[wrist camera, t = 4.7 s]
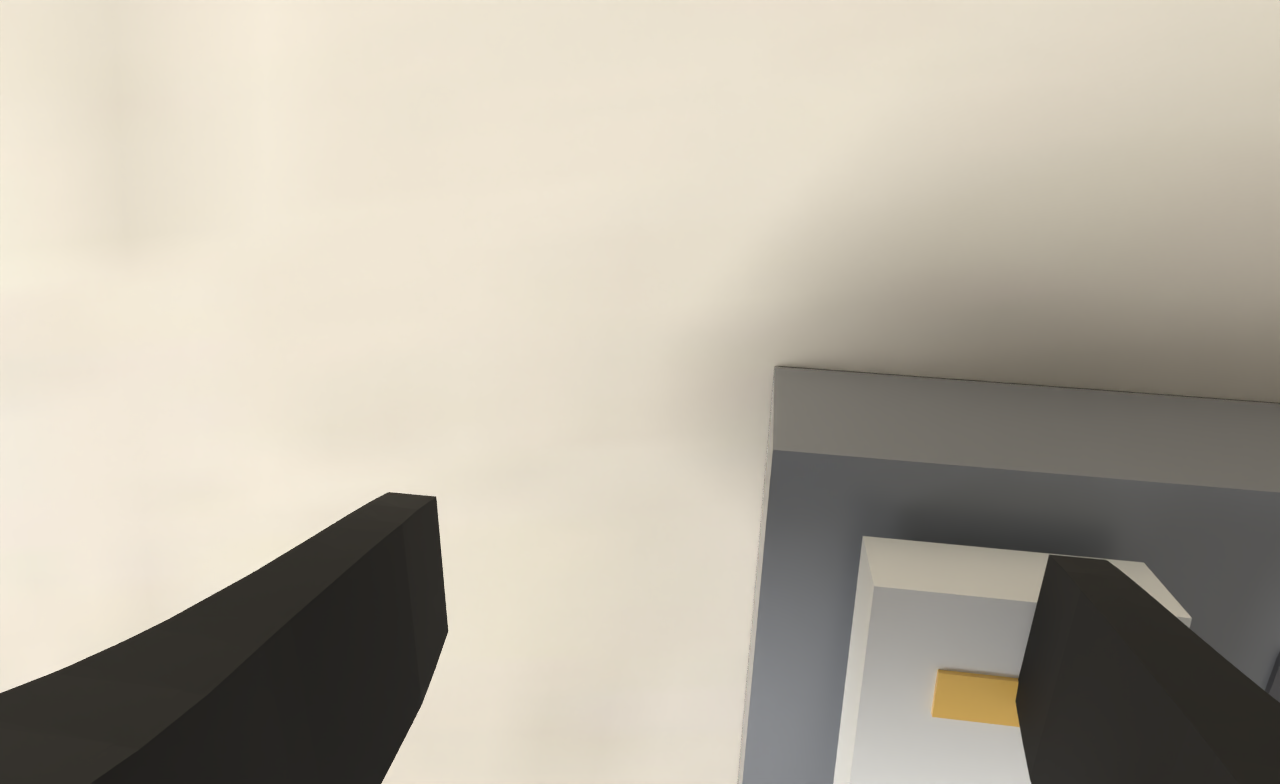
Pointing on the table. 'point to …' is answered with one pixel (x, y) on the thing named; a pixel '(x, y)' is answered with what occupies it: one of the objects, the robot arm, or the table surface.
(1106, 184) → the table surface
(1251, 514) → the grey flat tray
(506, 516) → the table surface
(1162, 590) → the rocker
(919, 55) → the table surface
